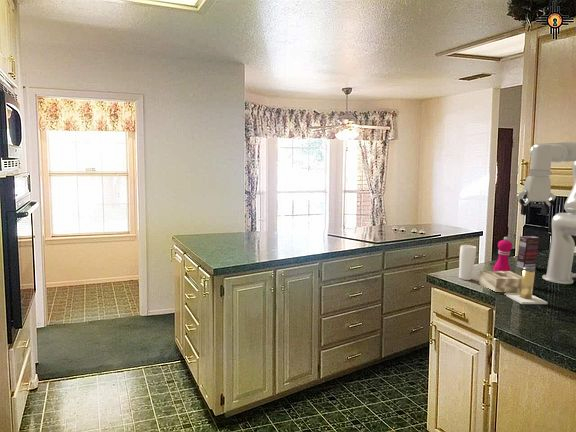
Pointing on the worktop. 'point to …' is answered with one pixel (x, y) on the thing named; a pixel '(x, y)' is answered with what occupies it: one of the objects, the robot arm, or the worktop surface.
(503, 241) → the pepper mill
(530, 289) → the yellow glass jar
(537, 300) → the mat
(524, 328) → the worktop surface
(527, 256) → the supplement box
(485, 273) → the bore block
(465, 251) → the white cylinder
